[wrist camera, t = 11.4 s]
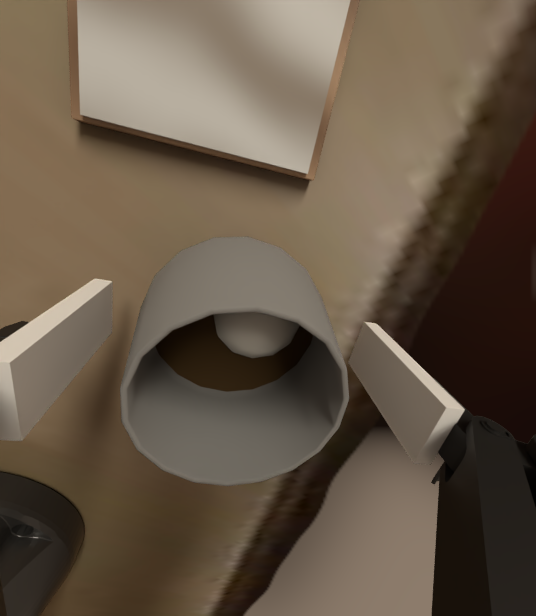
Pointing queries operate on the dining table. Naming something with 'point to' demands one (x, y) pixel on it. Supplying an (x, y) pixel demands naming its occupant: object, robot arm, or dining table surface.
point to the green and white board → (213, 74)
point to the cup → (232, 366)
